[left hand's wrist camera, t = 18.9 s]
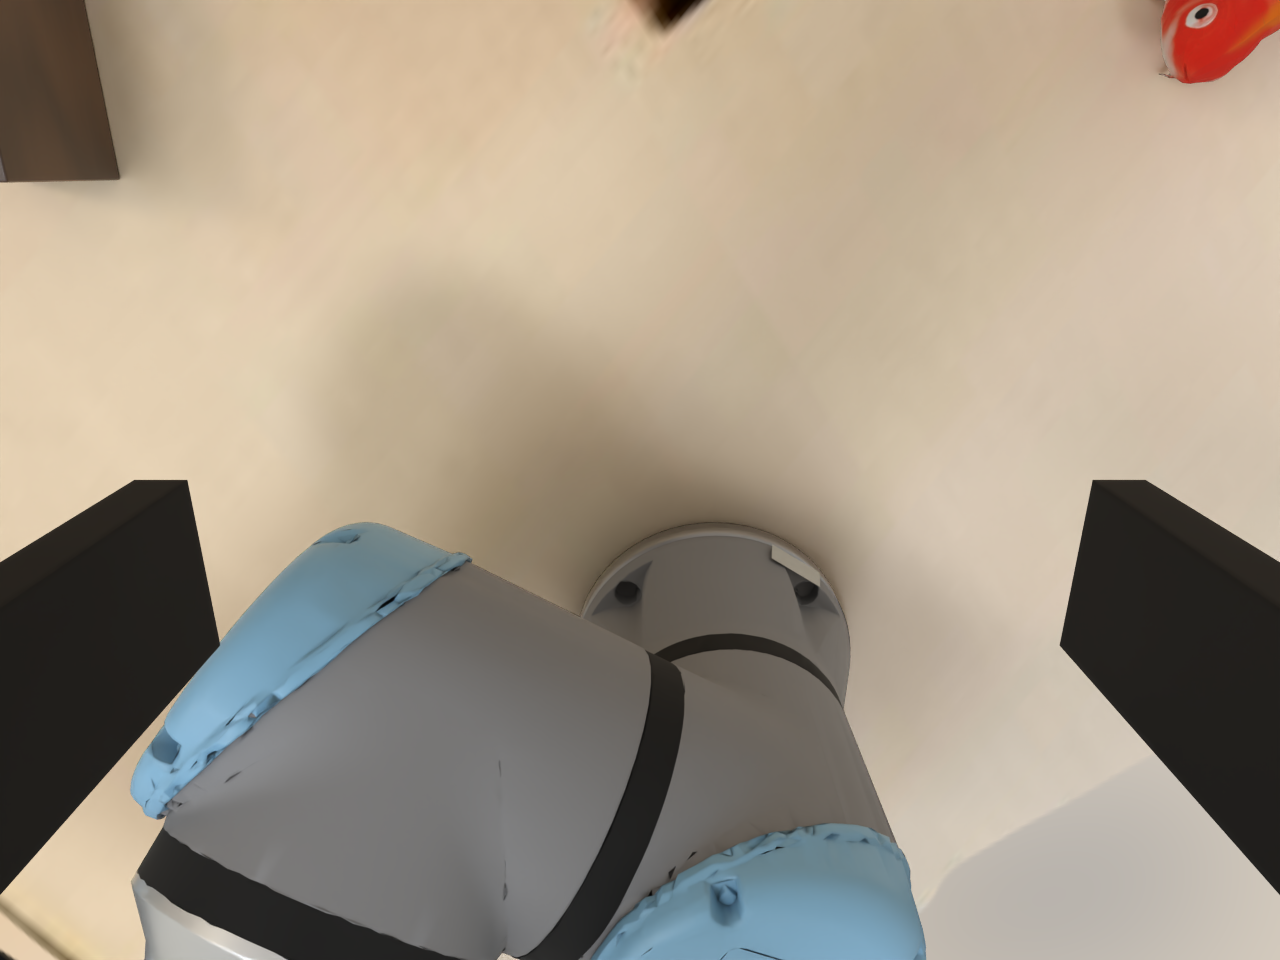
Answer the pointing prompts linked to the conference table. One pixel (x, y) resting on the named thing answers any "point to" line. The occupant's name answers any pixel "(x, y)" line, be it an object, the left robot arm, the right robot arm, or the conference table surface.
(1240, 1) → the fish
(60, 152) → the walnut beam
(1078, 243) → the conference table surface
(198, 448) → the conference table surface
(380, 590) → the left robot arm
